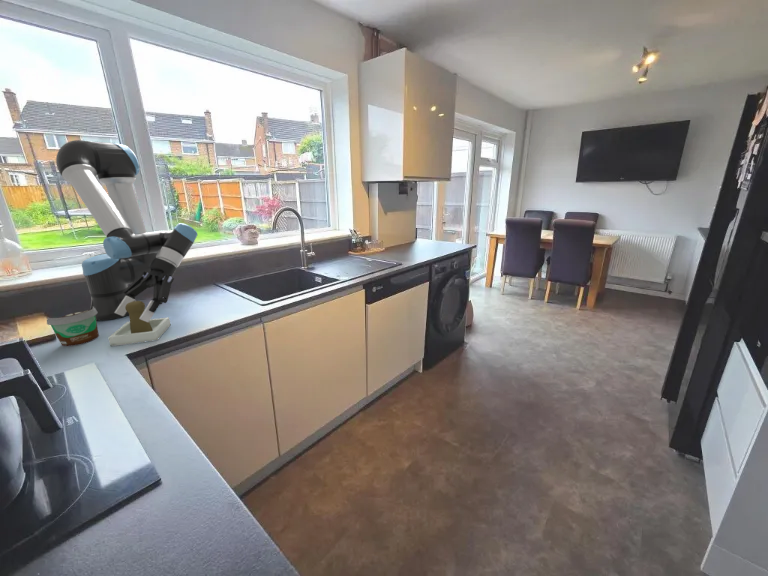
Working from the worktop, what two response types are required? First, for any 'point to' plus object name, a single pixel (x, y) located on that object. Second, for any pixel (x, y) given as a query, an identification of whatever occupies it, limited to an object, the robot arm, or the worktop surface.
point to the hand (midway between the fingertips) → (130, 317)
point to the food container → (75, 327)
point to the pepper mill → (137, 317)
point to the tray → (126, 337)
